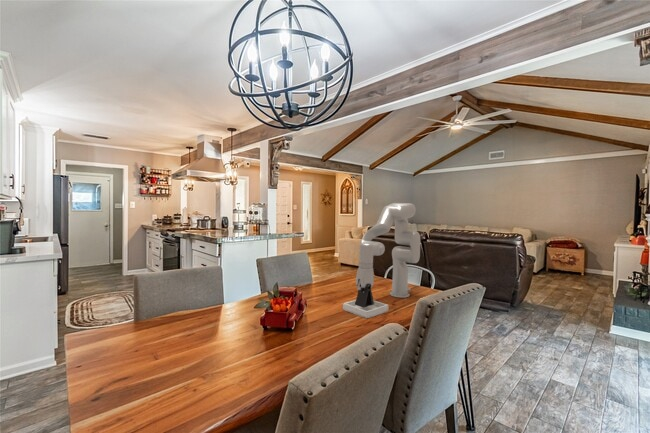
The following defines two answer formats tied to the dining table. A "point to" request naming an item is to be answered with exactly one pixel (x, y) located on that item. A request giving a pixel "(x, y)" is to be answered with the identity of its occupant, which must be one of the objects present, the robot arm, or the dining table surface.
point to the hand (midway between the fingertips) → (364, 299)
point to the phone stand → (364, 297)
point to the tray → (366, 309)
